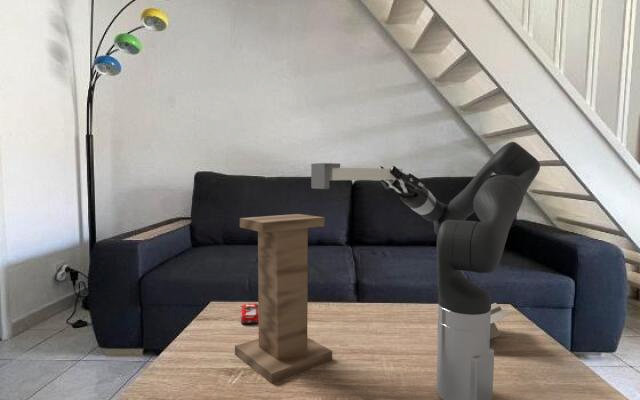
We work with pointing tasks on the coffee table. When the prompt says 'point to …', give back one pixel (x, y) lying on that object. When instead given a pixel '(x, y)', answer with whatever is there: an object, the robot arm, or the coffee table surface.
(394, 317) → the coffee table surface
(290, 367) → the wooden pedestal post
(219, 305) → the coffee table surface
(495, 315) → the grey slanted stand
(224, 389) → the coffee table surface
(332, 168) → the white bar
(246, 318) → the race car
